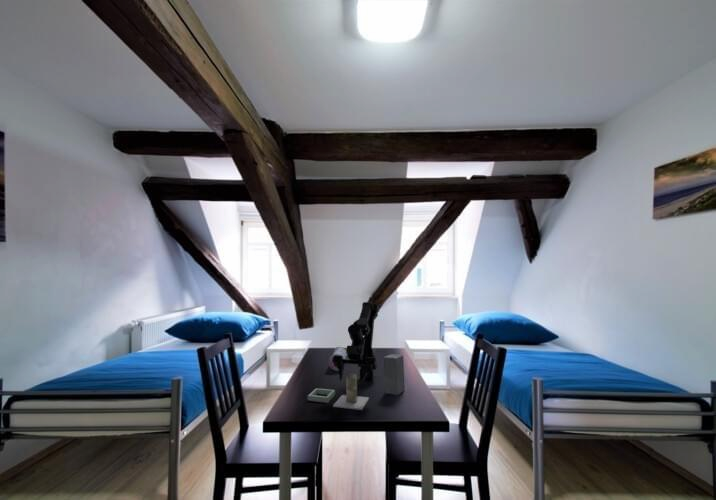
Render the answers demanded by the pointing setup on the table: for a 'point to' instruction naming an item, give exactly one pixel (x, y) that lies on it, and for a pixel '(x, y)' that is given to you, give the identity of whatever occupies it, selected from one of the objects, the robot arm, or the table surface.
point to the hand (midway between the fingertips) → (351, 380)
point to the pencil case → (337, 351)
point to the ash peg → (351, 387)
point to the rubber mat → (358, 405)
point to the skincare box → (394, 374)
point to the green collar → (326, 399)
